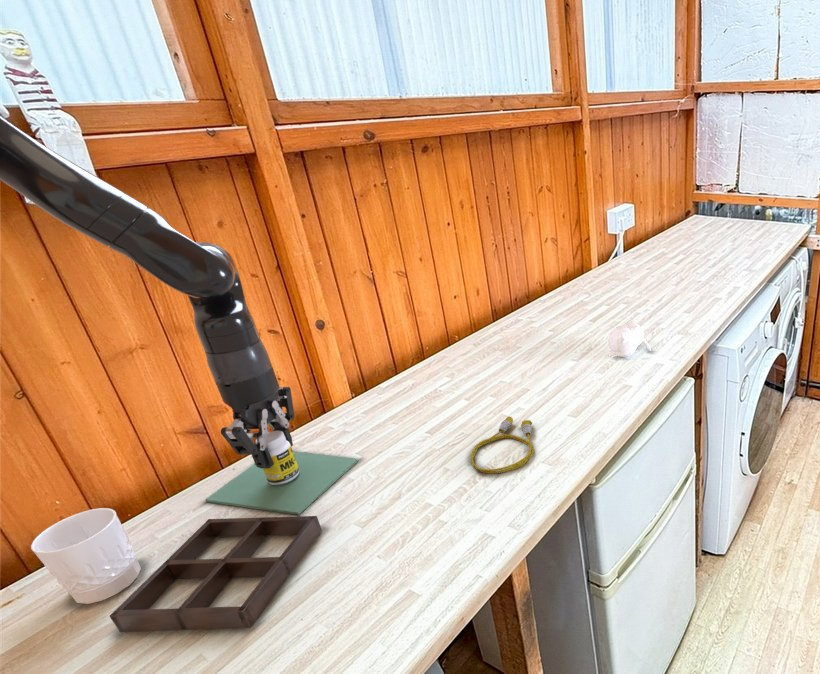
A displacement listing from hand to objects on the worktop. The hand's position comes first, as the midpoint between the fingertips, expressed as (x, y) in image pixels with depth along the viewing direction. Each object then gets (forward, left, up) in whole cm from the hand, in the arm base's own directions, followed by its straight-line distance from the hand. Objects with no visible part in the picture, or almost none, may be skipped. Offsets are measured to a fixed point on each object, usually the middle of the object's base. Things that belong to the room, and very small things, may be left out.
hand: (276, 456), depth 89 cm
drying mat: (0, 0, -5) cm, 5 cm away
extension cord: (+35, +15, -5) cm, 38 cm away
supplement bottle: (0, 0, -5) cm, 5 cm away
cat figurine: (+49, +59, -5) cm, 77 cm away
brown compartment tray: (+9, -19, -5) cm, 22 cm away
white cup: (-7, -23, -5) cm, 25 cm away
